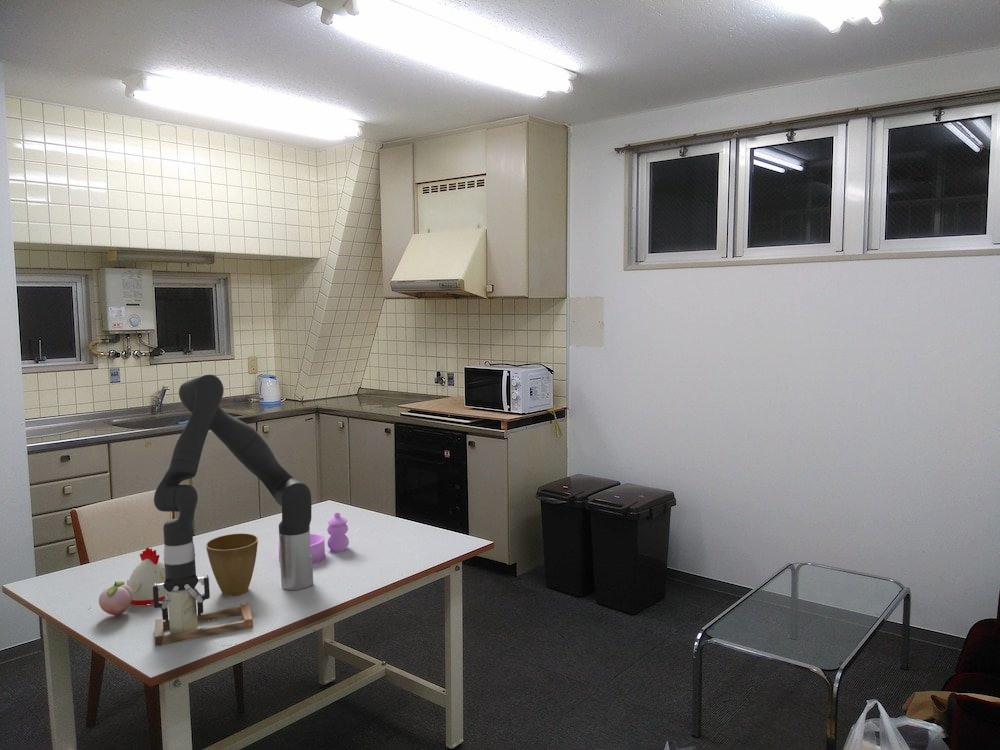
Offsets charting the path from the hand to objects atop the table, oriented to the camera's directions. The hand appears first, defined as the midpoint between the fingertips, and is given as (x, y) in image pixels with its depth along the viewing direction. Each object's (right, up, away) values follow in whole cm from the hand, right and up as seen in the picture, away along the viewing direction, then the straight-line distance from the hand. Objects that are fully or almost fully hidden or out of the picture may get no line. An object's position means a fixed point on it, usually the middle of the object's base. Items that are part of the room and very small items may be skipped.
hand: (183, 617), depth 196 cm
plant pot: (+4, -1, +27) cm, 28 cm away
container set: (+20, +2, +59) cm, 63 cm away
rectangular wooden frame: (+5, -4, +2) cm, 6 cm away
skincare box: (0, -4, 0) cm, 4 cm away
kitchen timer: (-20, -2, +25) cm, 32 cm away
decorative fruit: (-24, -3, +11) cm, 27 cm away
